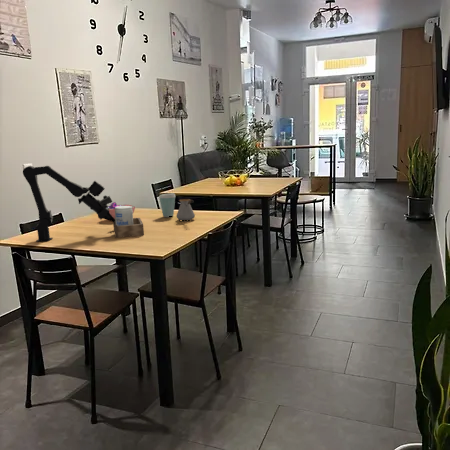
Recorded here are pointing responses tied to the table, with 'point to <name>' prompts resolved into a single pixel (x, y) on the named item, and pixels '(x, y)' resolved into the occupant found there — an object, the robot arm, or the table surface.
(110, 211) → the cell model
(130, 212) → the supplement tub
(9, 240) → the table surface
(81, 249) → the table surface
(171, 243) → the table surface
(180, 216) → the coffee pot
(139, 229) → the walnut crate
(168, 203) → the disposable coffee cup
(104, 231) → the table surface
